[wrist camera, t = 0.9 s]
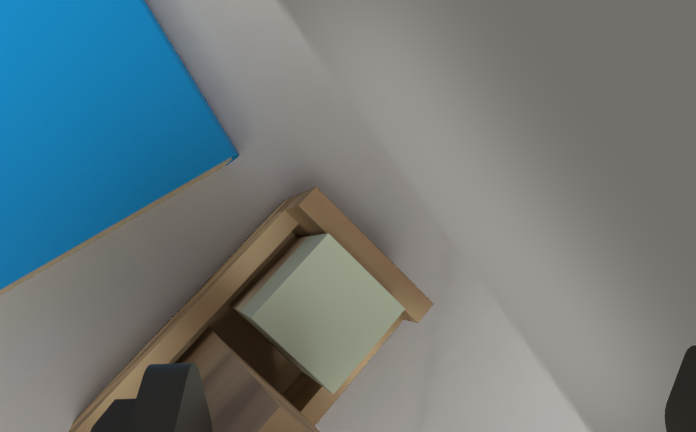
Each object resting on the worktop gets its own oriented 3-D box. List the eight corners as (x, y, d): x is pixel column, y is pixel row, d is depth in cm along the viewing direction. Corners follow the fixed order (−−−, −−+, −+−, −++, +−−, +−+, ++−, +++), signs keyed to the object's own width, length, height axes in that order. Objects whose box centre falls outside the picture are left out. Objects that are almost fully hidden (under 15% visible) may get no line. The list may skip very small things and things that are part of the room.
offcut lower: (294, 365, 29) (312, 379, 26) (228, 305, 28) (239, 311, 25) (352, 298, 30) (377, 303, 27) (290, 238, 29) (308, 236, 26)
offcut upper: (312, 379, 26) (333, 394, 23) (239, 311, 25) (250, 318, 22) (377, 303, 27) (405, 308, 24) (308, 236, 26) (328, 233, 23)
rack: (190, 518, 28) (201, 583, 23) (74, 420, 27) (53, 464, 21) (381, 295, 31) (433, 303, 26) (284, 200, 30) (316, 186, 25)
